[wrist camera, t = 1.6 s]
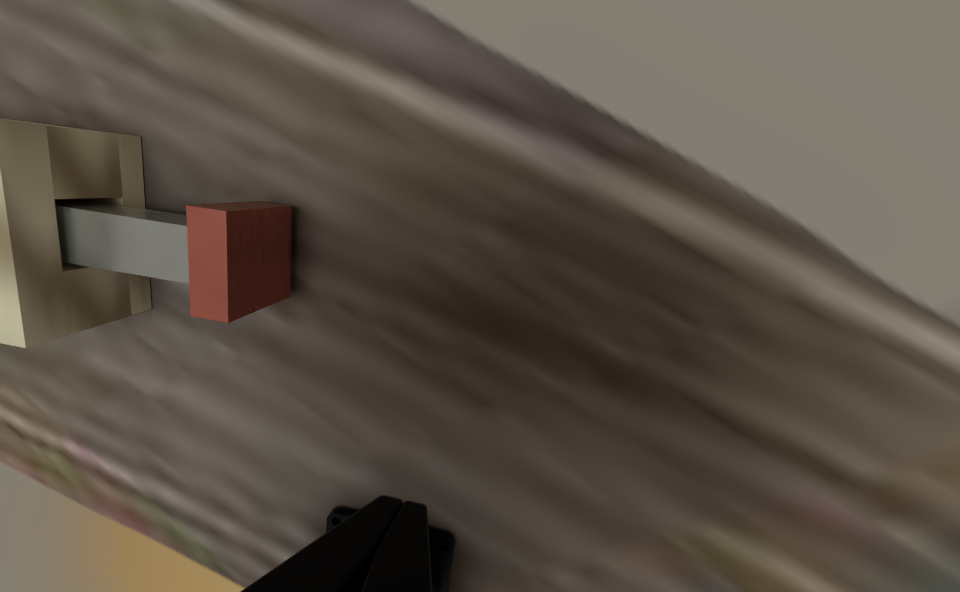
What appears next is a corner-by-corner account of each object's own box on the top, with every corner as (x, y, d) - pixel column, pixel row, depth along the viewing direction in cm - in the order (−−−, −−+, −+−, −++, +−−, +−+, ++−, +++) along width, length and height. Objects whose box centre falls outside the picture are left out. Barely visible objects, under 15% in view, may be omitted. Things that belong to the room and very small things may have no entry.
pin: (290, 296, 20) (228, 322, 16) (47, 255, 22) (-62, 270, 18) (291, 205, 19) (226, 211, 15) (36, 168, 21) (-82, 165, 17)
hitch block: (151, 308, 22) (25, 348, 17) (10, 283, 23) (-150, 312, 18) (140, 136, 20) (-7, 119, 15) (-14, 116, 21) (-204, 93, 16)
